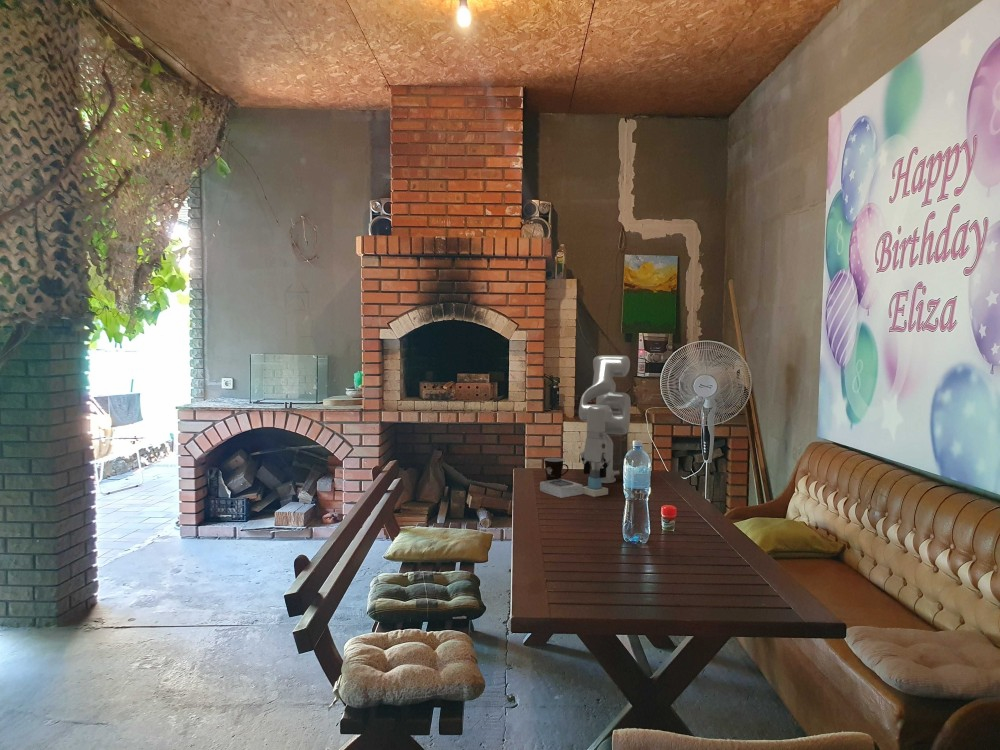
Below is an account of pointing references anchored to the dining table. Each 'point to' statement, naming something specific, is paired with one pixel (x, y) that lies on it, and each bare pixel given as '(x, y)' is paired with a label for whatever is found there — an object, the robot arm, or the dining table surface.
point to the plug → (594, 480)
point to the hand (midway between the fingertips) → (594, 475)
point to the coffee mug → (554, 468)
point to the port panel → (561, 488)
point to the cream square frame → (595, 491)
